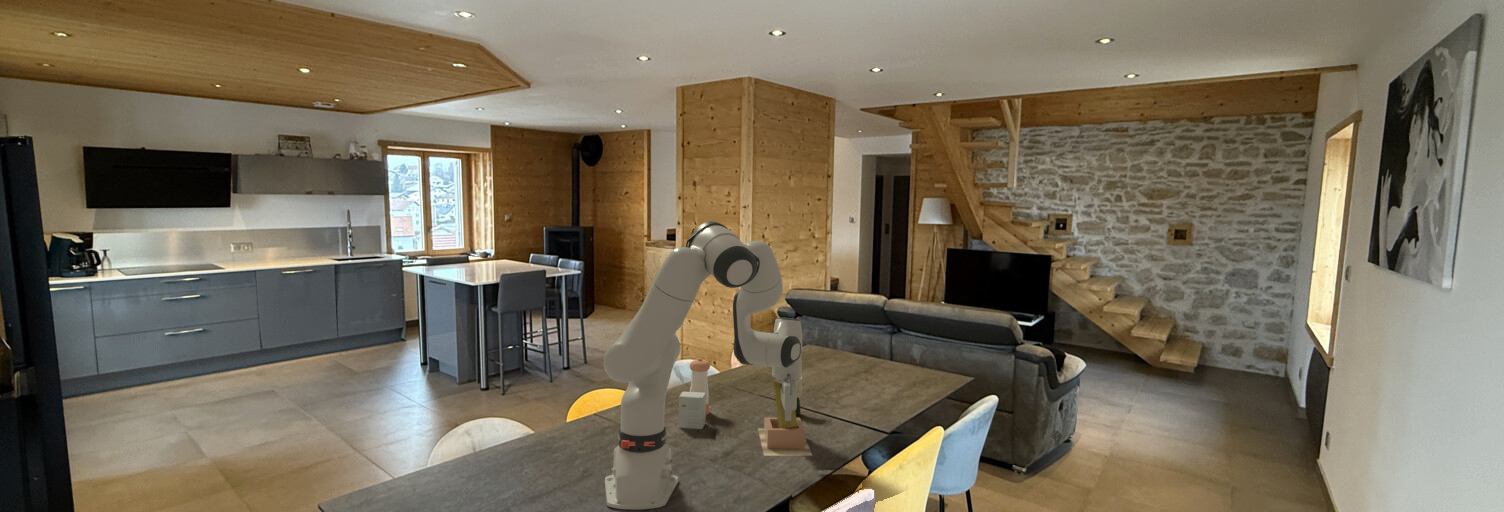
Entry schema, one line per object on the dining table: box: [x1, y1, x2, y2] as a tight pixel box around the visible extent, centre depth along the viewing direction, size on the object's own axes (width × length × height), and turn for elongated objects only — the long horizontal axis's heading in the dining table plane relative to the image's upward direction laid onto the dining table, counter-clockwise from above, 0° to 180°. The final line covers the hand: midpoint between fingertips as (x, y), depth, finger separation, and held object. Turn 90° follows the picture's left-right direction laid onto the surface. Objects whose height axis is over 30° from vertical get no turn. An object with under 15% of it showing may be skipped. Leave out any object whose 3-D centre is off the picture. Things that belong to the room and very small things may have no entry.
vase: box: [773, 379, 798, 428], centre depth 196 cm, size 6×6×14 cm
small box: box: [678, 391, 707, 430], centre depth 210 cm, size 8×6×10 cm
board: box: [757, 428, 813, 457], centre depth 196 cm, size 22×14×1 cm, turn 4°
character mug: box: [795, 376, 804, 416], centre depth 224 cm, size 11×7×13 cm, turn 30°
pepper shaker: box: [689, 357, 711, 416], centre depth 223 cm, size 7×7×19 cm
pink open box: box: [763, 417, 806, 448], centre depth 196 cm, size 11×11×6 cm
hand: (785, 415), depth 196 cm, fingers closed on vase, 7 cm apart
